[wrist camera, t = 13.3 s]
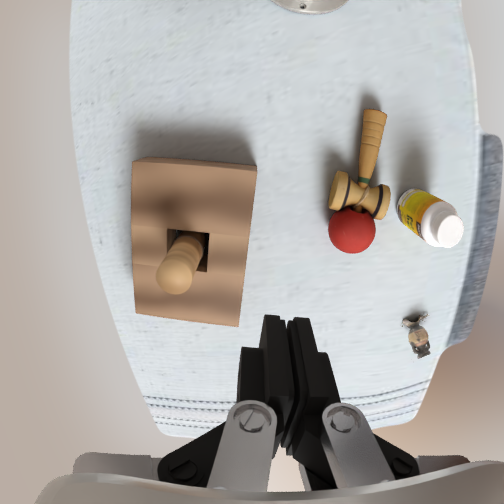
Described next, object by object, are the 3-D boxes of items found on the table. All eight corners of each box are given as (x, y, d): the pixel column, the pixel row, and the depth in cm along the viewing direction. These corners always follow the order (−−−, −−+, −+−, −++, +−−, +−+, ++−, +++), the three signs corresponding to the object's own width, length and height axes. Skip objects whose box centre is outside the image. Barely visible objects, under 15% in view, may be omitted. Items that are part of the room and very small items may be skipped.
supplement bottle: (387, 206, 39) (423, 231, 29) (415, 179, 37) (456, 197, 28) (408, 233, 40) (445, 263, 31) (434, 208, 39) (475, 231, 29)
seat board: (146, 156, 37) (132, 161, 32) (256, 165, 37) (257, 171, 33) (146, 294, 44) (135, 313, 40) (239, 306, 45) (238, 326, 40)
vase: (424, 337, 48) (436, 359, 42) (397, 342, 49) (407, 366, 43) (428, 312, 46) (442, 334, 40) (400, 318, 46) (411, 341, 41)
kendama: (334, 106, 35) (309, 242, 40) (359, 98, 29) (330, 256, 34) (382, 123, 37) (359, 249, 42) (411, 119, 31) (384, 263, 36)
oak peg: (181, 220, 40) (154, 258, 29) (209, 223, 40) (193, 263, 29) (180, 247, 41) (155, 292, 30) (207, 251, 42) (191, 297, 30)
